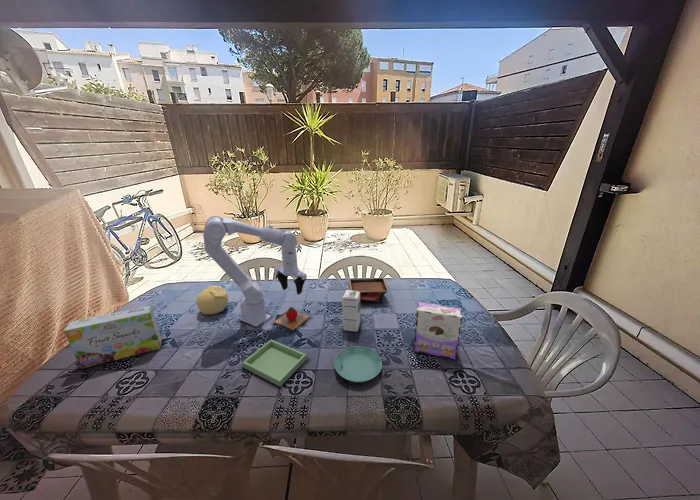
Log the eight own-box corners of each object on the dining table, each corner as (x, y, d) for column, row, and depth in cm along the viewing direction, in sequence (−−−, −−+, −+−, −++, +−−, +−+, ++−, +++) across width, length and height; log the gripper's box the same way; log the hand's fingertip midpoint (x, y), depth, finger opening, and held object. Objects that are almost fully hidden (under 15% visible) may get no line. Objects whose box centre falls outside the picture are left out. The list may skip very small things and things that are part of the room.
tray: (243, 368, 85) (242, 362, 84) (271, 345, 95) (270, 339, 94) (280, 388, 78) (279, 381, 77) (306, 360, 88) (306, 354, 87)
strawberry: (284, 320, 108) (283, 309, 106) (291, 314, 111) (290, 304, 110) (292, 323, 106) (291, 312, 104) (299, 317, 109) (299, 307, 108)
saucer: (336, 351, 92) (336, 345, 91) (379, 352, 91) (380, 346, 90) (332, 387, 78) (332, 380, 77) (383, 388, 78) (384, 381, 77)
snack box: (79, 371, 84) (61, 330, 79) (86, 359, 89) (69, 320, 84) (160, 349, 93) (149, 311, 88) (162, 339, 98) (152, 303, 93)
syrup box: (358, 332, 102) (358, 298, 97) (342, 330, 103) (342, 296, 98) (360, 323, 107) (360, 290, 102) (345, 321, 108) (345, 289, 103)
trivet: (273, 323, 107) (273, 321, 107) (290, 311, 115) (290, 309, 115) (293, 331, 102) (293, 329, 102) (309, 317, 111) (309, 316, 110)
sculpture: (232, 311, 115) (228, 289, 111) (201, 321, 108) (195, 297, 105) (227, 300, 124) (223, 279, 120) (197, 308, 117) (192, 286, 114)
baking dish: (386, 310, 119) (390, 289, 116) (346, 304, 118) (349, 283, 116) (382, 295, 133) (386, 277, 130) (346, 290, 132) (349, 271, 129)
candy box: (455, 349, 93) (462, 307, 87) (455, 360, 88) (463, 317, 82) (414, 340, 97) (418, 300, 91) (412, 351, 92) (416, 309, 86)
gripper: (310, 260, 107) (312, 291, 112) (282, 254, 114) (285, 283, 119) (299, 267, 102) (301, 298, 106) (270, 260, 108) (274, 290, 113)
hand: (292, 291), depth 112 cm, fingers open, 7 cm apart
